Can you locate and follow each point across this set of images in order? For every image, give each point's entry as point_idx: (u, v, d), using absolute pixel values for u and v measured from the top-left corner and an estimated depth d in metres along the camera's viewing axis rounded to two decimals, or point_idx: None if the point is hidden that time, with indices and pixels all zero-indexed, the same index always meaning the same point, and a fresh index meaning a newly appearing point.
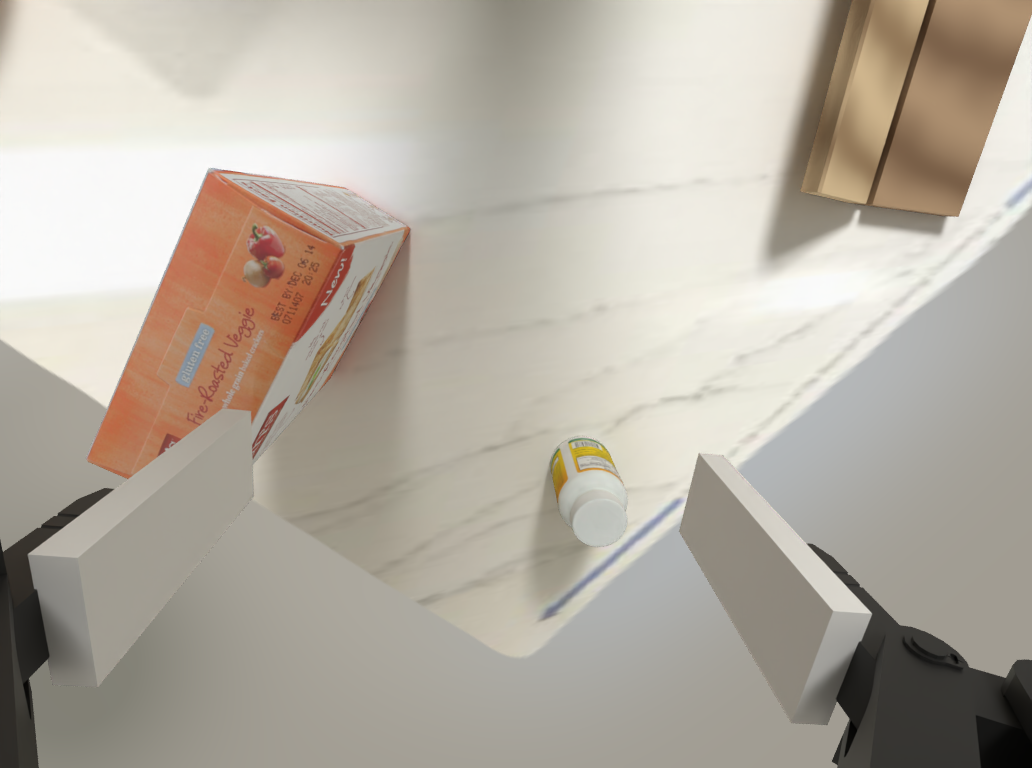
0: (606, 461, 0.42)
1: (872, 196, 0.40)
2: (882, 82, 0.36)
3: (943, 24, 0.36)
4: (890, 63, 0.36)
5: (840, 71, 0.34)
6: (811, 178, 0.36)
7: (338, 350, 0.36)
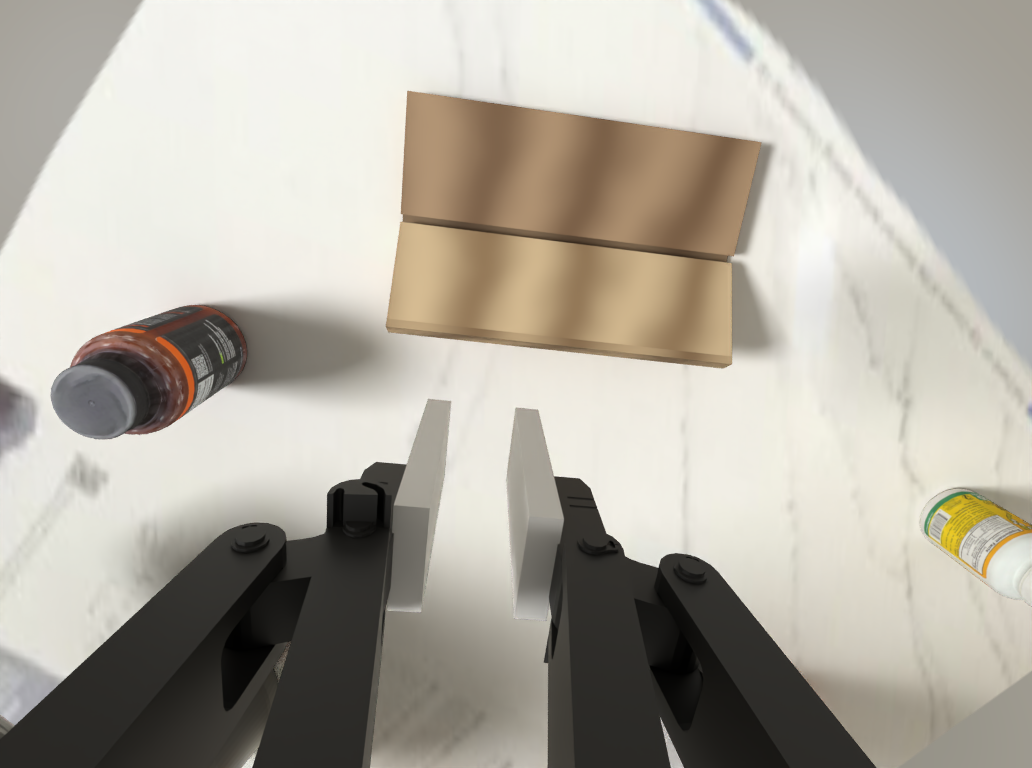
0: (973, 534, 0.39)
1: (723, 254, 0.36)
2: (619, 289, 0.34)
3: (560, 217, 0.34)
4: (601, 282, 0.34)
5: (616, 354, 0.34)
6: (714, 365, 0.35)
7: None
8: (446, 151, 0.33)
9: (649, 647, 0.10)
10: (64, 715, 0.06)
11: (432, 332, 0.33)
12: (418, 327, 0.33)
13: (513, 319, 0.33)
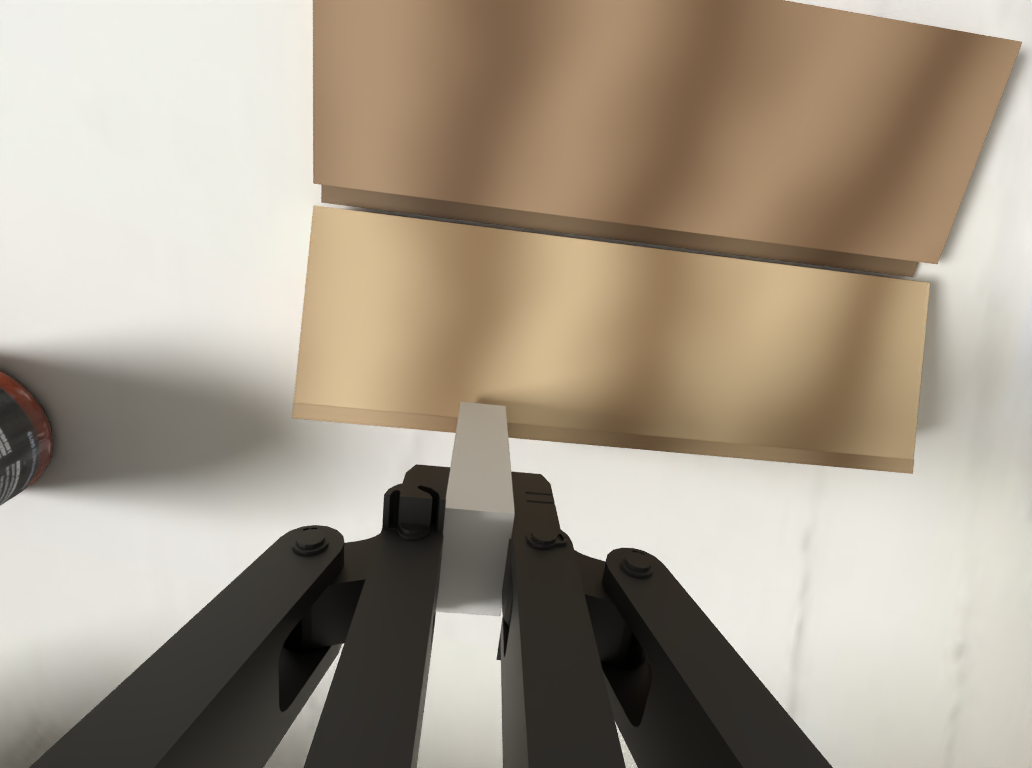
0: None
1: None
2: (724, 336, 0.19)
3: (623, 191, 0.18)
4: (693, 325, 0.19)
5: None
6: None
7: None
8: (399, 53, 0.16)
9: (595, 641, 0.10)
10: (133, 707, 0.06)
11: (380, 425, 0.18)
12: (353, 417, 0.18)
13: (529, 399, 0.18)
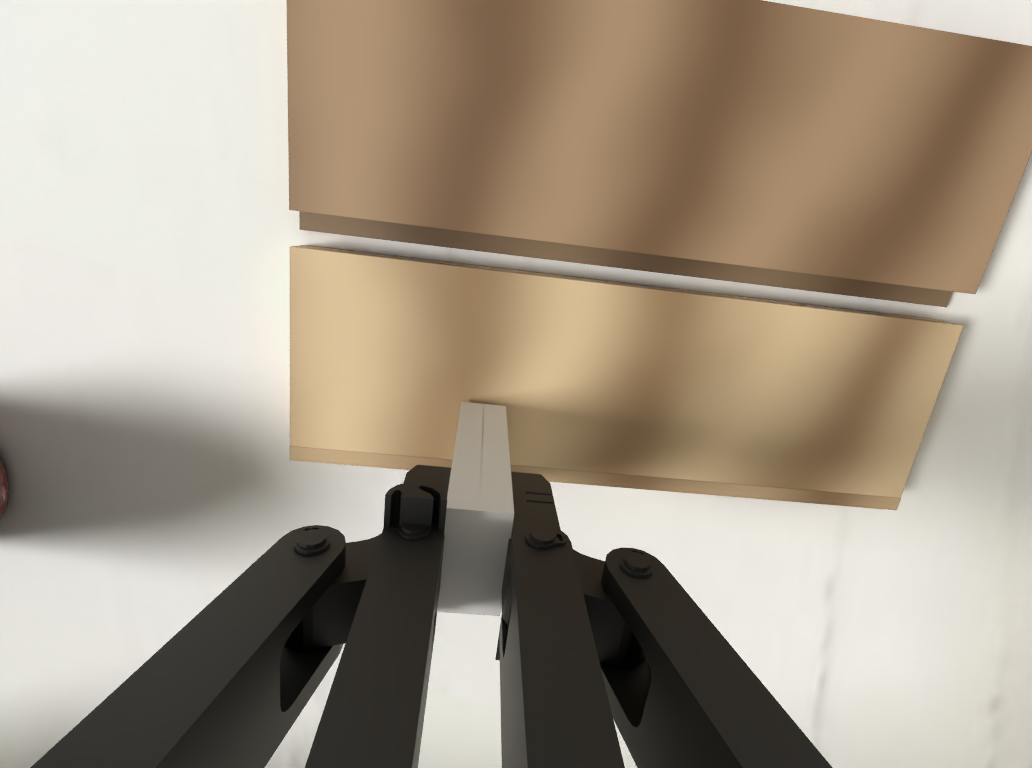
0: None
1: None
2: (727, 382, 0.18)
3: (631, 217, 0.16)
4: (695, 371, 0.18)
5: None
6: None
7: None
8: (383, 68, 0.15)
9: (595, 641, 0.10)
10: (134, 707, 0.06)
11: (376, 464, 0.18)
12: (349, 459, 0.18)
13: (521, 442, 0.18)
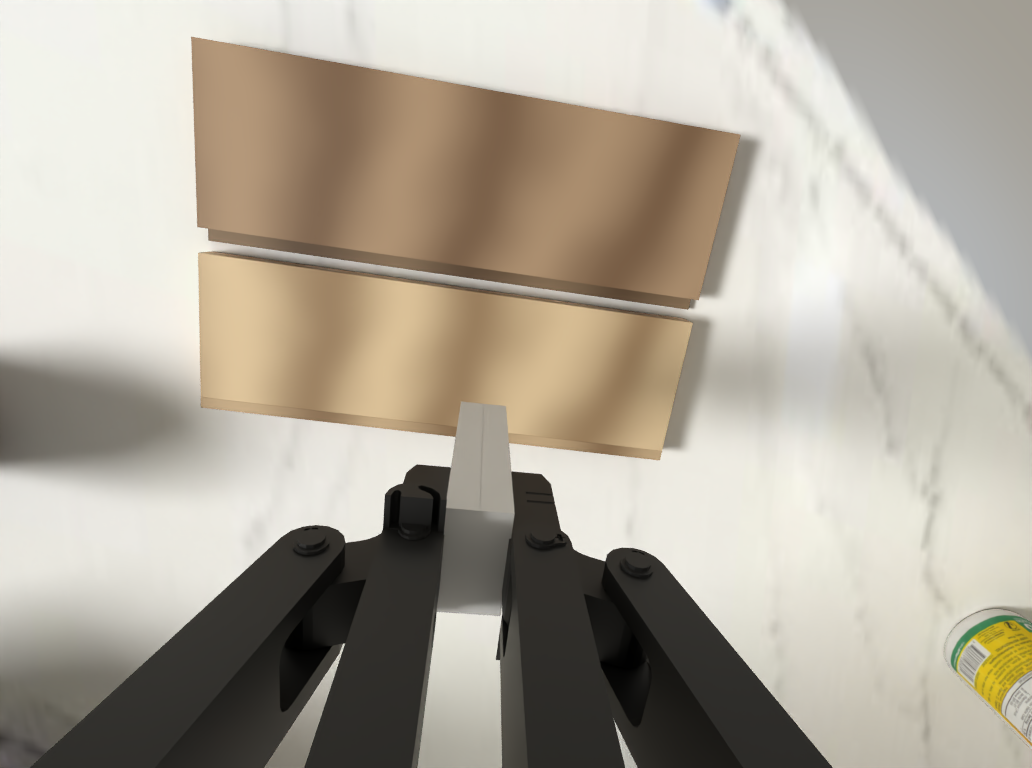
0: (1024, 687, 0.28)
1: (684, 297, 0.25)
2: (522, 359, 0.25)
3: (441, 238, 0.23)
4: (498, 350, 0.25)
5: None
6: None
7: None
8: (260, 133, 0.21)
9: (595, 641, 0.10)
10: (134, 707, 0.06)
11: (265, 413, 0.25)
12: (244, 408, 0.25)
13: (372, 400, 0.25)
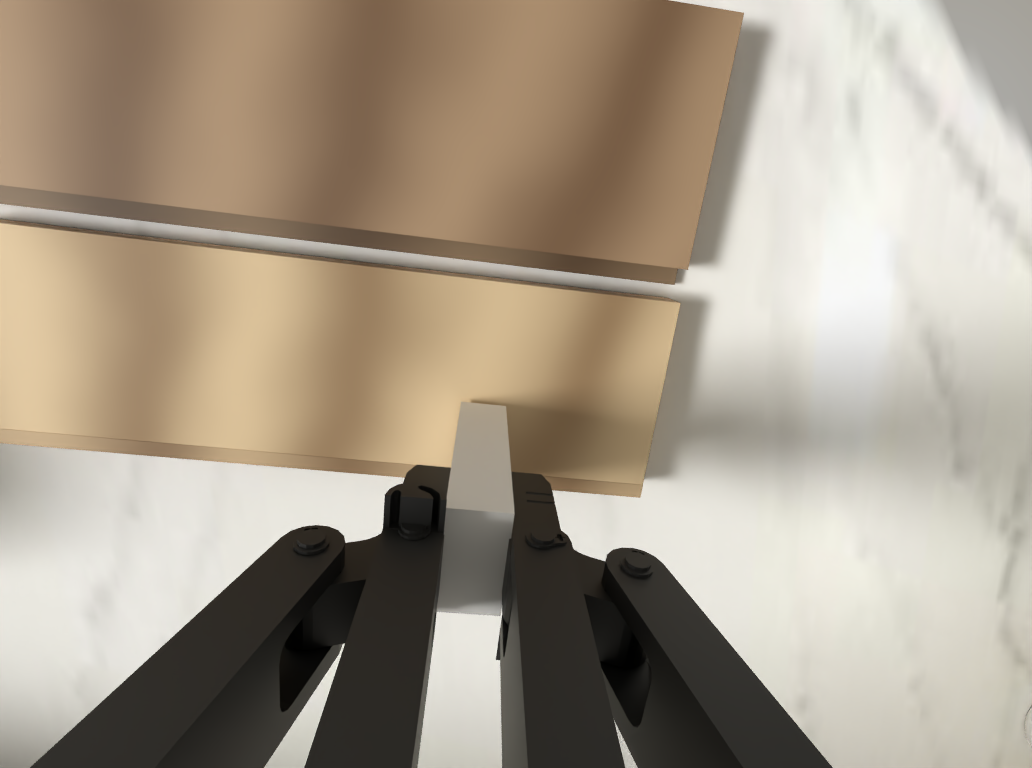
0: None
1: (666, 266, 0.17)
2: (437, 361, 0.17)
3: (302, 186, 0.15)
4: (400, 349, 0.17)
5: None
6: None
7: None
8: (6, 26, 0.14)
9: (595, 641, 0.10)
10: (133, 707, 0.06)
11: (76, 447, 0.18)
12: (43, 441, 0.17)
13: (225, 424, 0.17)
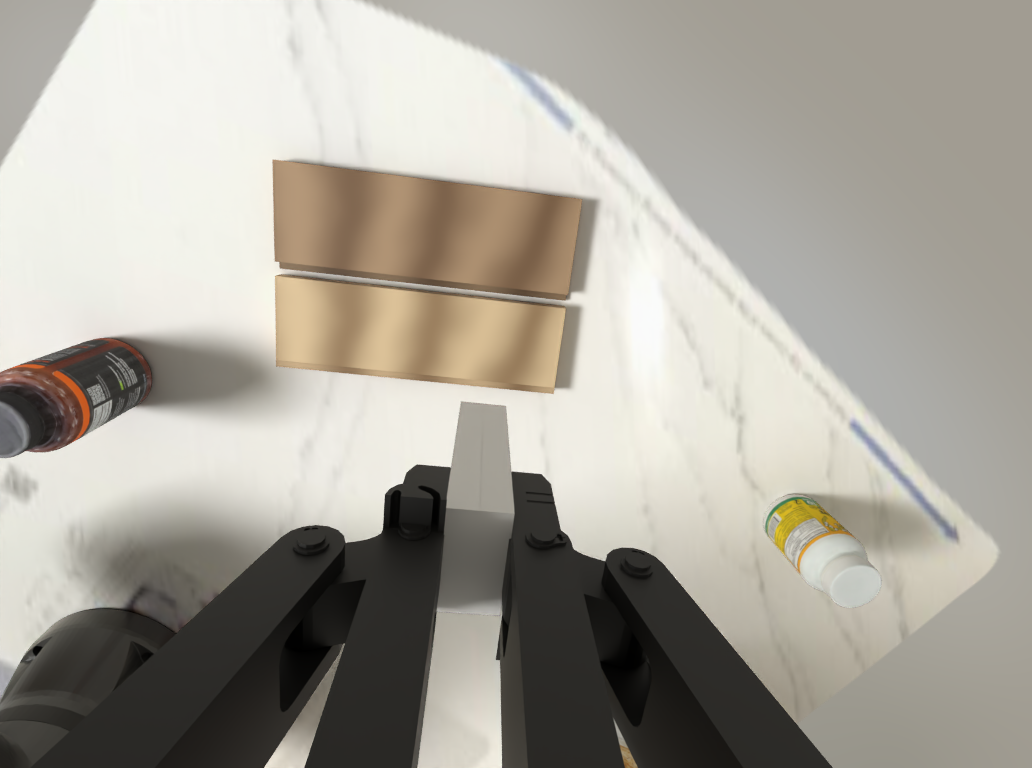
0: (793, 534, 0.45)
1: (559, 293, 0.41)
2: (465, 333, 0.41)
3: (413, 263, 0.40)
4: (450, 328, 0.41)
5: None
6: None
7: None
8: (310, 208, 0.38)
9: (595, 641, 0.10)
10: (133, 707, 0.06)
11: (313, 369, 0.42)
12: (301, 366, 0.42)
13: (376, 359, 0.42)
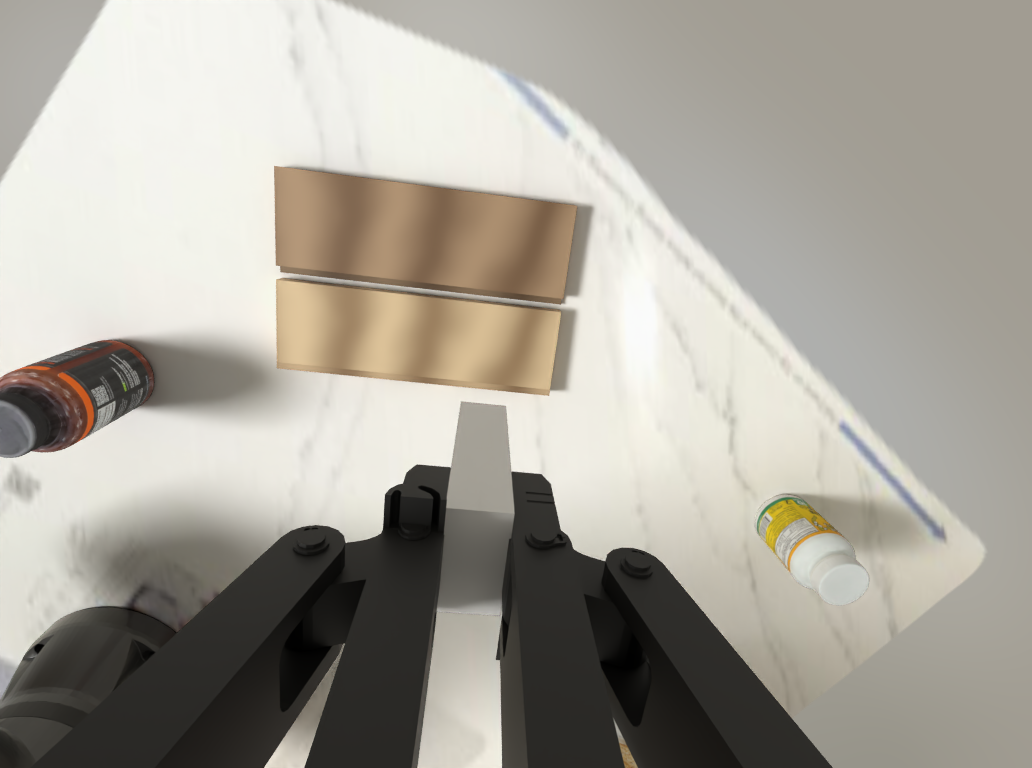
0: (784, 534, 0.46)
1: (555, 297, 0.42)
2: (462, 336, 0.42)
3: (412, 267, 0.41)
4: (447, 331, 0.42)
5: None
6: None
7: None
8: (311, 214, 0.39)
9: (595, 641, 0.10)
10: (134, 707, 0.06)
11: (313, 371, 0.43)
12: (302, 368, 0.42)
13: (375, 361, 0.43)
